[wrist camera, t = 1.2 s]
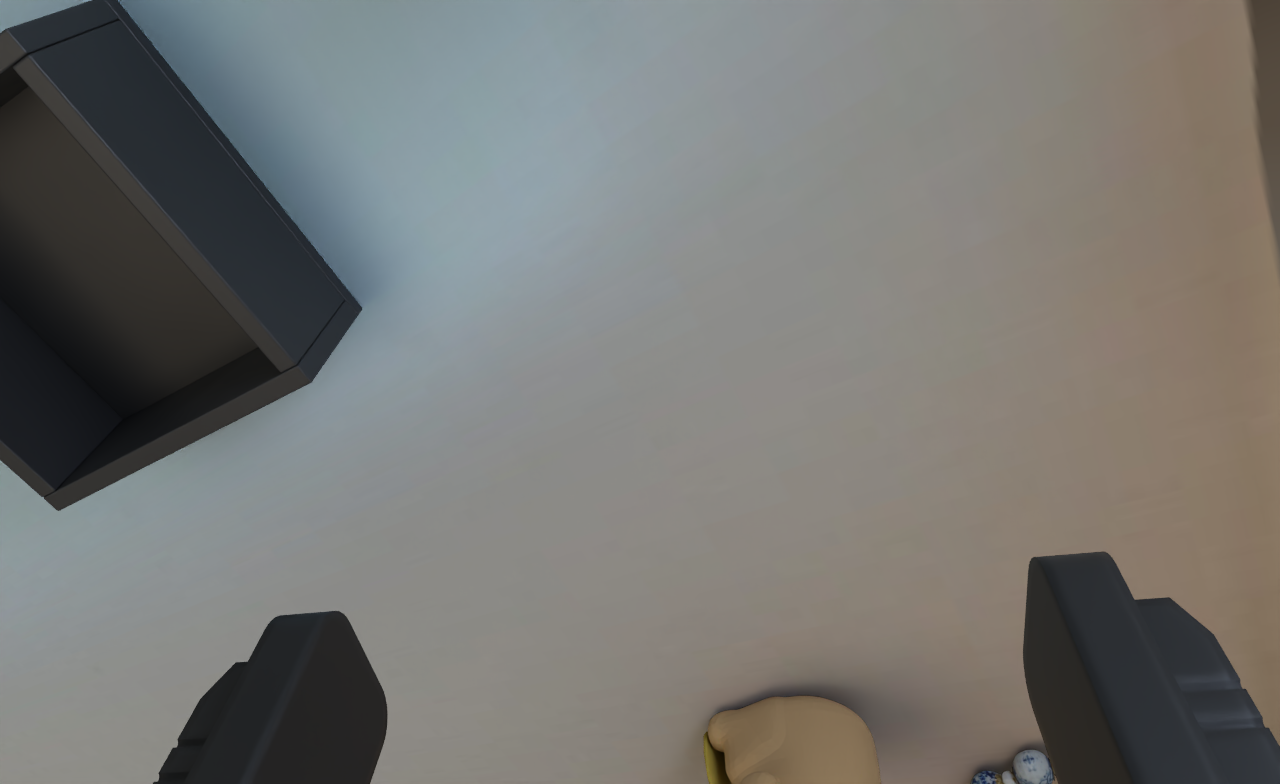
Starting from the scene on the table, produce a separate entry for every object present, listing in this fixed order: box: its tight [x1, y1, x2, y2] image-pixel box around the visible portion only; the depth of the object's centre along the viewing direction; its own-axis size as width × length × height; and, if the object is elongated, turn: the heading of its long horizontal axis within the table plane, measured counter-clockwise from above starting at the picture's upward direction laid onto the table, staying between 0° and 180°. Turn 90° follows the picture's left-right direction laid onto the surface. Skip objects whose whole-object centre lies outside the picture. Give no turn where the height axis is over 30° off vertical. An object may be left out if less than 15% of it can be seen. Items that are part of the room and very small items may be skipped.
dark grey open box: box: [0, 0, 362, 511], centre depth 34 cm, size 14×14×6 cm
